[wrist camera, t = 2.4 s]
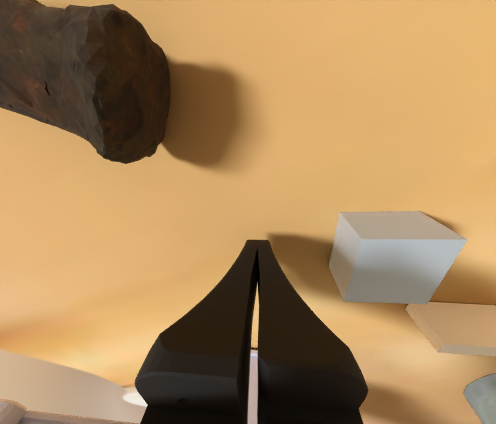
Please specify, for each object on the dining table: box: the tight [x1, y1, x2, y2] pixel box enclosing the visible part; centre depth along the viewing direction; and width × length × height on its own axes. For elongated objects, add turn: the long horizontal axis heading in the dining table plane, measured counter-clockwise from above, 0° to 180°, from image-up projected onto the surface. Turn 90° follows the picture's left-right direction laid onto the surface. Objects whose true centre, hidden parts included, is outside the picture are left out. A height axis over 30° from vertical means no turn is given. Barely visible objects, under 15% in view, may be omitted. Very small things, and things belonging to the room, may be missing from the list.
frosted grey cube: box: [329, 211, 467, 304], centre depth 11 cm, size 4×4×3 cm
